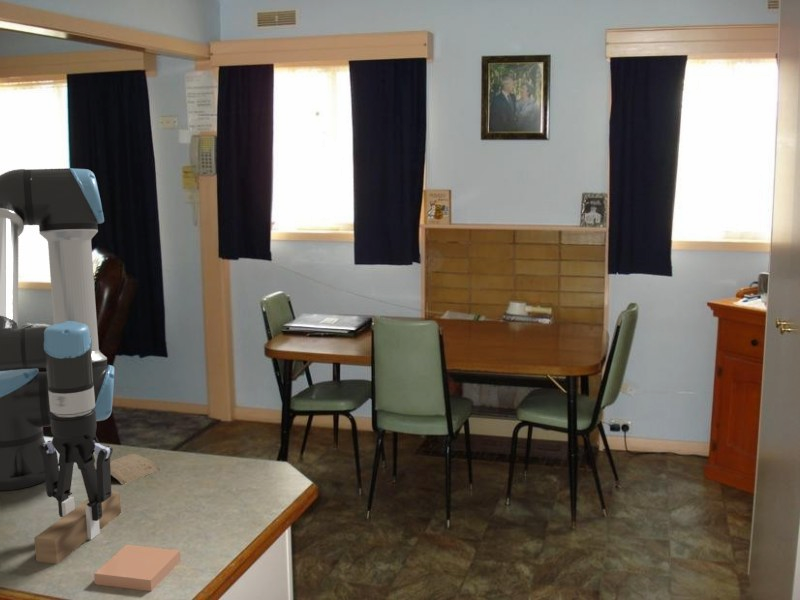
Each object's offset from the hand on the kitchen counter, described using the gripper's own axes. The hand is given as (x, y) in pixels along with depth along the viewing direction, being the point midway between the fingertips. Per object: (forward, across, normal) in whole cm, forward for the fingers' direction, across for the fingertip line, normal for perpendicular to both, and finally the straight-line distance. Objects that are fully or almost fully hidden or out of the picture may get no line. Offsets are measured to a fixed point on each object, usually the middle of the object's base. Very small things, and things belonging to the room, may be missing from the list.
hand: (82, 534), depth 154 cm
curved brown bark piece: (+1, -9, +28) cm, 30 cm away
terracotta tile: (-1, +17, -4) cm, 18 cm away
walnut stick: (0, 0, 0) cm, 0 cm away
